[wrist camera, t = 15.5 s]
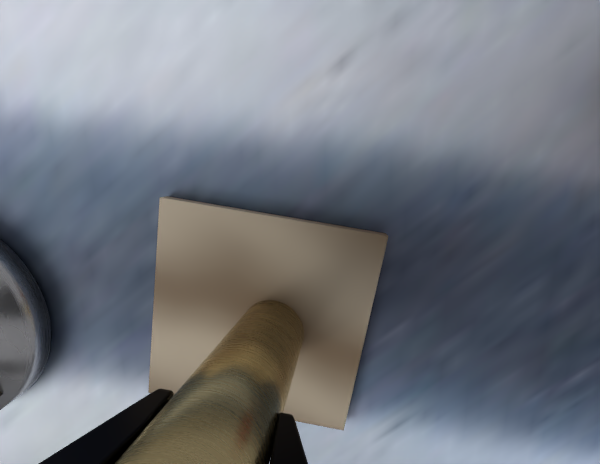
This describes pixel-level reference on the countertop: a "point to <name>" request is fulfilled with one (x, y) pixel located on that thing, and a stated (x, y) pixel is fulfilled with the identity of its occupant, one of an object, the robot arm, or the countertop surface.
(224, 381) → the brass cylinder
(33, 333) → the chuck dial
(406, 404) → the countertop surface
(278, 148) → the countertop surface
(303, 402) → the tan square plate
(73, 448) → the robot arm
